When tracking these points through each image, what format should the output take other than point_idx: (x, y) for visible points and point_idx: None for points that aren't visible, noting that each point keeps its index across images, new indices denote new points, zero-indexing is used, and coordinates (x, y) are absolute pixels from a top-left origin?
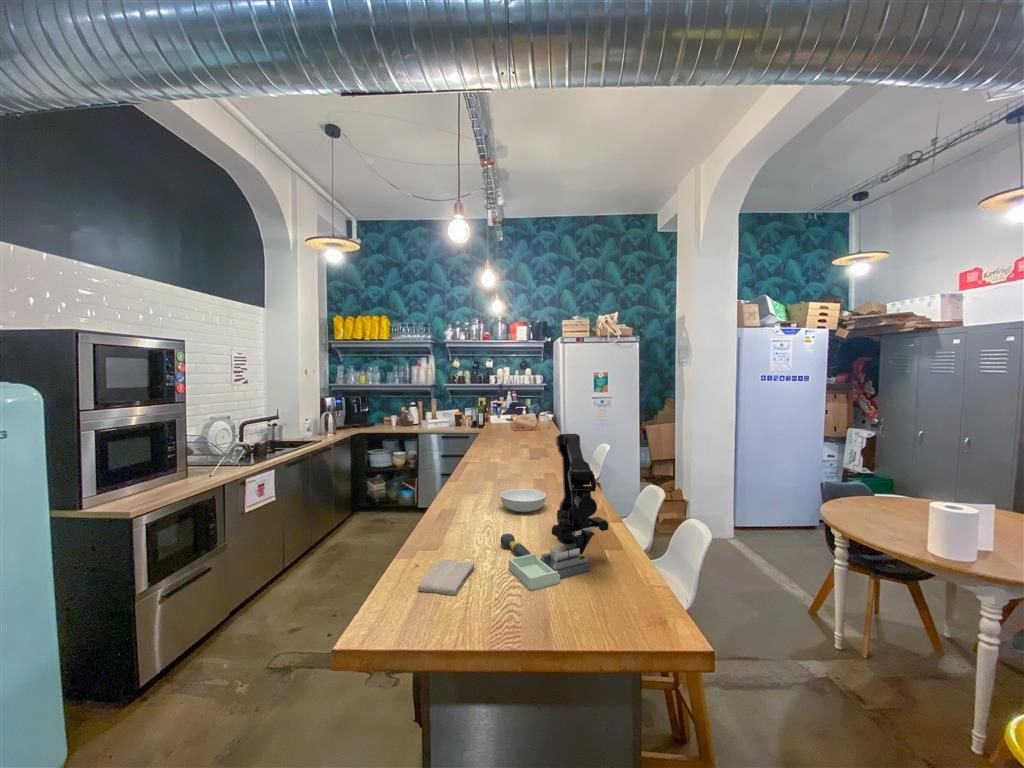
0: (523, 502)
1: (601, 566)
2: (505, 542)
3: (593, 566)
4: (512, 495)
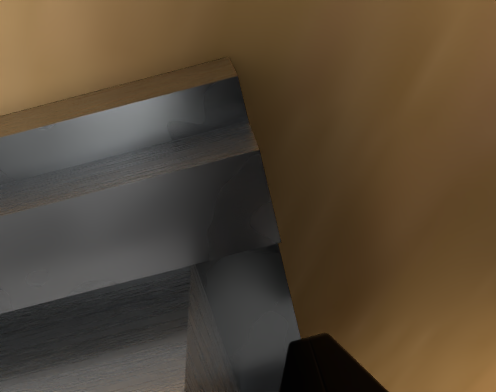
0: None
1: (476, 311)
2: None
3: (400, 300)
4: None
